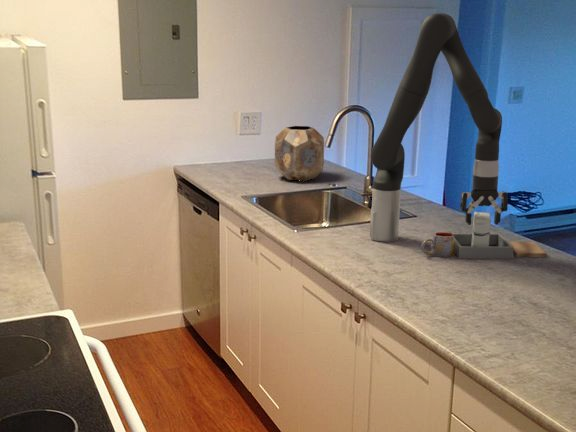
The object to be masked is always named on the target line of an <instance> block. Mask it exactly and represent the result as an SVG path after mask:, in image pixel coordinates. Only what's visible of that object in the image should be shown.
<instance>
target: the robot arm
mask: <svg viewBox="0 0 576 432" xmlns="http://www.w3.org/2000/svg"><path fill="white" fill-rule="evenodd" d="M417 37H418V38H417V41H416V44H415V48H414V51H413V54H412V56H411V58H410V60H409V63H408V64H407V67H406V69H405V72H404V74H403V76H402V78H401V80H400V82H399V84H398V88H397V90H396V91H395V95H394V97H393V101H392V103H391V106H390V109H389V111H388V114H387V117H386V120H385V122H384V124H383V127H382V129H381V132H379V135H378V137H377V139H376V141H375V142H374V145H373V146H372V148H371V152H370V161H371V164H372V165H373V167H375V168H376V172H375V175H374V178H373V179H372V193H371V195H372V198H371V199H372V200H371V208H370V223H369V224H370V226H369V227H370V229H369V236H370V239H371V241H379V242H386V243H387V242H394V241H397V240H398V239H399V234H400V211H401V210H400V209H401V207H400V206H401V191H402V190H401V187H402V182H403V179H404V173H405V171H404V170H405V159H406V158H405V155H406V154H405V148H404V145H403V144H402V143H403V139H404V137H405V134H406V133H407V131H408V130H409V128H410V127H411V125H412V124H413V122H414V121H415V120H416V119H417V116H418V115H419V113H420V112H421V109H422V108H423V106H424V104H425V101H426V99H427V96H428V95H429V91H430V87H431V83H432V79H433V72H434V68H435V65H436V62H437V59H438V57H439V55H440V53H442V55H443V56H444V58H445V60H446V62H447V63H448V66H449V68H450V72H451V75H452V78H453V80H454V83H455V85H456V89H457V90H458V91H459V93H460V95H461V96H462V97H461V98H463V100H464V103H466V105H467V108H468V110H469V112H470V115H471V119H472V120H473V122H474V124H475V126H476V127H477V129H478V137H477V141H476V145H475V148H474V149H475V150H474V151H475V154H474V161H473V170H472V187H471V191H470V192H467V191H461V197H460V204H459V209H460V210H461V211H462V212H465V216H464V217H465V219H464V221H465V222H466V224H467V225H469V226H471V225H472V212H474V210H475V209H476V208H477V207H478V206H479V207H484V206H485V207H490V206H492V207H493V209H494V210H495V211H494V218H493V219H494V221H493V224H495V225H496V226H498V225H499V224H500V222H501V217H502V213H503V212H507V211H508V208H509V207H508V206H509V205H508V204H509V203H508V202H509V201H508V199H509V197H508V192H507V191H505V190H502V191H499V192H498V188H499V187H498V186H499V185H498V184H499V172H500V167H499V166H500V164H499V163H500V162H499V157H500V156H499V155H500V139H501V133H502V126H503V117H502V113H501V112H500V110H498V109H497V108H494V106H493V104H492V103H491V100H490V98H489V94H488V91H487V88H486V86H485V84H484V83H483V82H482V80H481V78H480V76H479V74H478V72H477V71H476V69H475V66H474V65H473V63H472V61H471V59H470V57H469V56H468V54H467V52H466V49H465V47H464V44H463V42H462V39H461V37H460V34H459V31H458V28H457V24H456V22H455V20H454V18H453V17H452V16H450V15H449V14H447V13H444V12H440V13H439V12H438V13H437V12H436V13H432V14H430V15H428V16H427V17H425V19H424V21H423V22H422V24H421V27H420V30H419V33H418V36H417ZM470 197H471V199H472V200H471V201H470V202H469V205H468V206H467V201H468V200H469V198H470ZM498 197H499V199H500V200H501V201H500V202H501V206H499V205H498V203H497V202H496V200H497V199H498Z"/></svg>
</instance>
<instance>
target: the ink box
mask: <svg viewBox="0 0 576 432" xmlns="http://www.w3.org/2000/svg"><path fill="white" fill-rule="evenodd" d="M491 223H492V219H491V215H490V212H479V211H473V223H472V233H471V234H472V243H471V245H470V247H490V245H489V238H490V234H491Z"/></svg>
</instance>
